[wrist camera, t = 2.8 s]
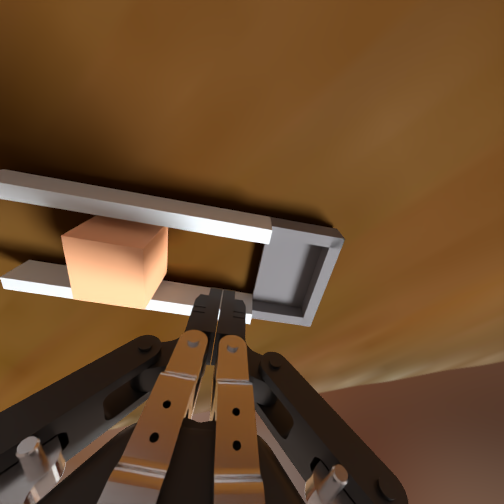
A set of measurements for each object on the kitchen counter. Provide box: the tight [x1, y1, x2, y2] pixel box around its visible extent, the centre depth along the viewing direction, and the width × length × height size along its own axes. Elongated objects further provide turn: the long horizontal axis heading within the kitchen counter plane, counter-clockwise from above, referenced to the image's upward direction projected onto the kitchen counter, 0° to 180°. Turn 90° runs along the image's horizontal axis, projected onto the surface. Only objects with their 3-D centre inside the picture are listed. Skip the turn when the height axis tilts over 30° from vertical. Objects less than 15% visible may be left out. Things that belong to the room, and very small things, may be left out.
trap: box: [251, 217, 345, 326], centre depth 19 cm, size 5×8×2 cm, turn 170°
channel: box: [0, 169, 272, 324], centre depth 18 cm, size 18×8×2 cm, turn 80°
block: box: [61, 215, 168, 309], centre depth 17 cm, size 4×4×4 cm
